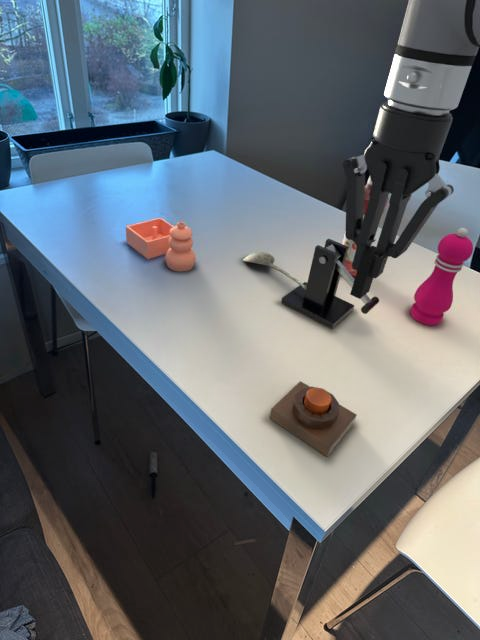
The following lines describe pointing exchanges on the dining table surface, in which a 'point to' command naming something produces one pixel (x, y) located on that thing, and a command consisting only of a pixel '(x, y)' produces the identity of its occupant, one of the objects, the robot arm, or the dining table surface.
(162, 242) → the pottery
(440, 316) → the pepper mill
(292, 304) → the lever bracket
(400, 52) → the robot arm
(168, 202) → the dining table surface
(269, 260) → the soupspoon
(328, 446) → the button box
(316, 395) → the button
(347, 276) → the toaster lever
